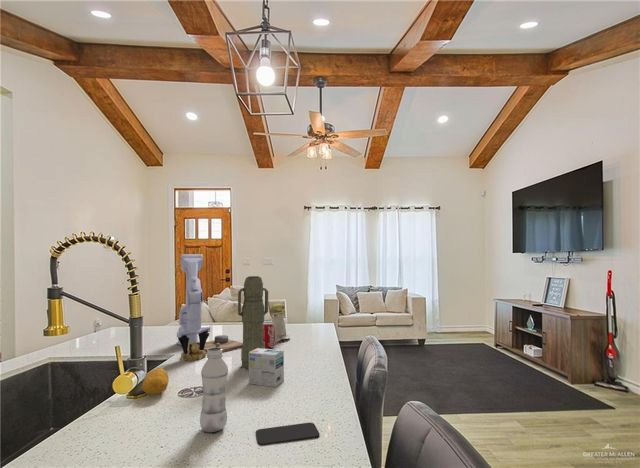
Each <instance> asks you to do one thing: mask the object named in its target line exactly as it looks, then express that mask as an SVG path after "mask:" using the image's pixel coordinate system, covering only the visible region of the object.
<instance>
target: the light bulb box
mask: <svg viewBox="0 0 640 468" xmlns="http://www.w3.org/2000/svg"><path fill="white" fill-rule="evenodd" d="M284 352H285V351H284V350H283V349H274V348H273V349H261V348H257V349H255V350H253V351H250V352H249V369H248V383H247V384H250V385H257V386H264V387H271V388H273V387H274V388H277V387H278V386H279V385H281V384H282V383H283V382H284V381H285V353H284Z"/></svg>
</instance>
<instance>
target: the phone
mask: <svg viewBox="0 0 640 468" xmlns="http://www.w3.org/2000/svg"><path fill="white" fill-rule="evenodd" d="M320 435H321V433H320V432H319V430H318V428H317V426H316V425H315V423H314V422H305V423H304V422H303V423H295V424H289V425H280V426H273V427H265V428H259V429H257V430H256V431H255V436H256V441H257V445H259V446H270V445H277V444H283V443H291V442H299V441H306V440H312V439H318V438H320Z"/></svg>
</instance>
